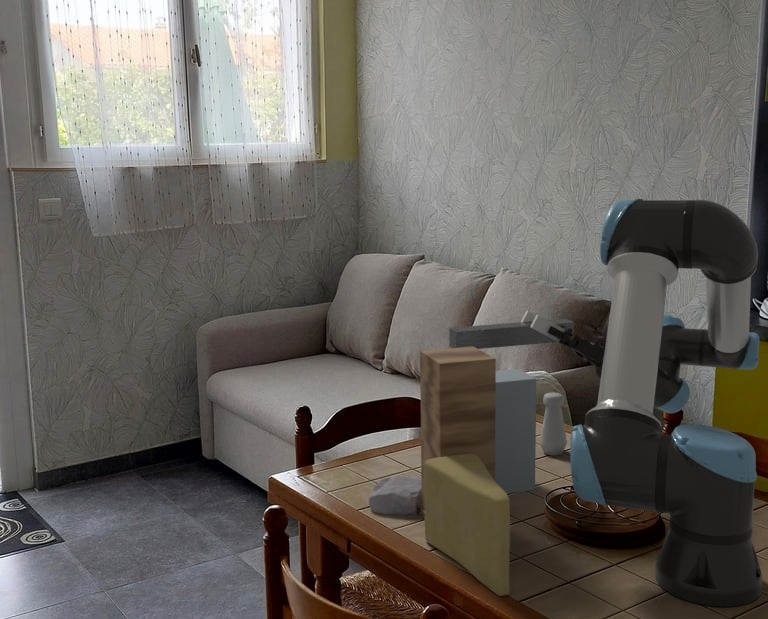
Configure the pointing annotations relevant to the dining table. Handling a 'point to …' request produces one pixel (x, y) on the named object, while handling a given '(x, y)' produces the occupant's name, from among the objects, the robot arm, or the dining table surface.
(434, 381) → the walnut stand
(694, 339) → the robot arm
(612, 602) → the dining table surface
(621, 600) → the dining table surface
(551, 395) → the salt shaker
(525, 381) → the grey-blue block
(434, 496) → the cheese
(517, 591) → the dining table surface
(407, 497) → the stone block
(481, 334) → the steel bar
